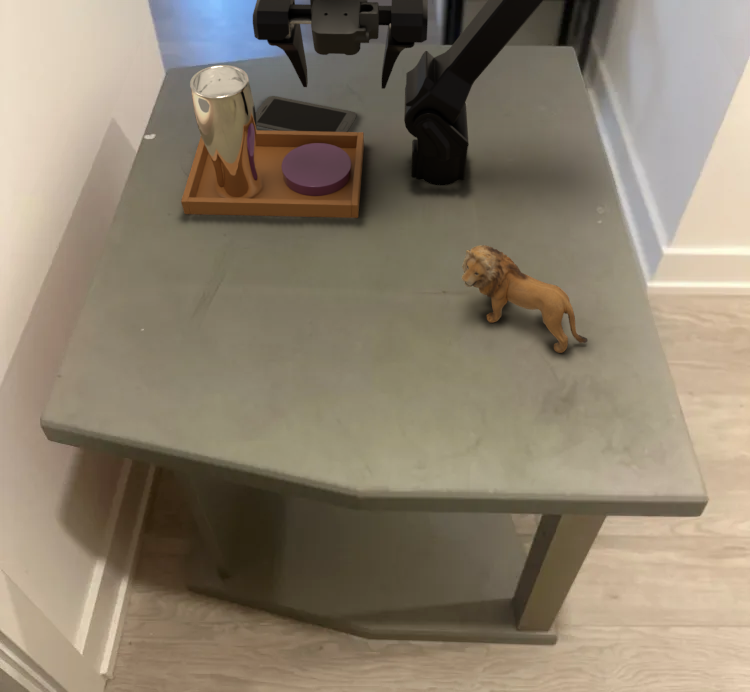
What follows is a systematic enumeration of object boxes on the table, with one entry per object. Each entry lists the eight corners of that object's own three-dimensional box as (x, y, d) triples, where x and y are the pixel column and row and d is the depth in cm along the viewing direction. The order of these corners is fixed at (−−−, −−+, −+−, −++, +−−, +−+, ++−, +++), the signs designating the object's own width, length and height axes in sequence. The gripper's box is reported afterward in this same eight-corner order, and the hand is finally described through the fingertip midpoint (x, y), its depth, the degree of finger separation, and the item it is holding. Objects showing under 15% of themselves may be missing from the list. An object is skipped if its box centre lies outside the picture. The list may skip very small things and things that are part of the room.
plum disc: (353, 152, 99) (353, 143, 98) (349, 197, 93) (349, 187, 92) (286, 151, 99) (285, 142, 98) (278, 195, 94) (277, 186, 93)
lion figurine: (449, 318, 82) (456, 261, 75) (466, 286, 85) (473, 228, 78) (580, 361, 78) (600, 305, 71) (592, 326, 81) (612, 268, 74)
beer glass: (229, 211, 92) (207, 106, 80) (202, 182, 95) (177, 77, 84) (276, 189, 94) (262, 83, 83) (248, 161, 98) (230, 57, 86)
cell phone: (340, 147, 101) (340, 142, 100) (247, 127, 104) (247, 123, 103) (358, 116, 105) (358, 112, 105) (269, 99, 108) (268, 94, 107)
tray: (363, 149, 101) (363, 132, 99) (358, 222, 92) (357, 205, 90) (206, 146, 101) (202, 129, 99) (185, 218, 92) (180, 201, 90)
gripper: (234, -15, 70) (256, 125, 83) (431, -12, 70) (423, 128, 82) (251, -66, 77) (269, 70, 89) (430, -64, 77) (423, 73, 89)
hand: (344, 86), depth 87 cm, fingers open, 9 cm apart
